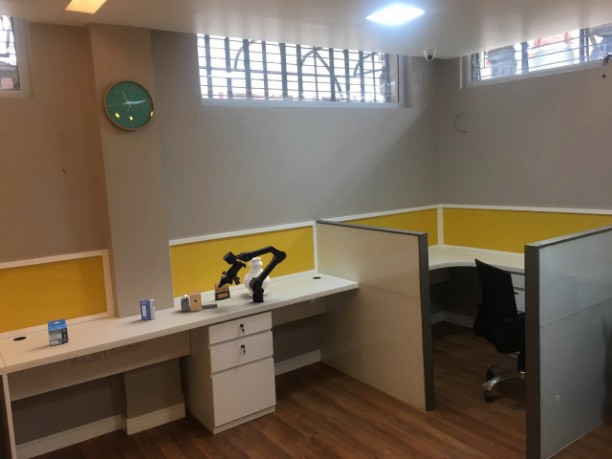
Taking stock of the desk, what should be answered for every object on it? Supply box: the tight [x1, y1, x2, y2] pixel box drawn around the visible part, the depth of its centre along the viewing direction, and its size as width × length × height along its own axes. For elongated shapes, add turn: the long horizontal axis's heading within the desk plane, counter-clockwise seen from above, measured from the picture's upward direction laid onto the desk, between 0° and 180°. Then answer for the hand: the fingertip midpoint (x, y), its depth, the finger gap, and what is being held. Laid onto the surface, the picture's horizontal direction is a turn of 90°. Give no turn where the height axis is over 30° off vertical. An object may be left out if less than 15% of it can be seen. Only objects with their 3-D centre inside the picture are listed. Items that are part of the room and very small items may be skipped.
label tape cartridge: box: [47, 318, 69, 347], centre depth 282 cm, size 9×4×12 cm, turn 121°
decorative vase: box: [243, 256, 271, 297], centre depth 364 cm, size 18×18×25 cm
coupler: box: [180, 294, 218, 313], centre depth 335 cm, size 22×7×10 cm, turn 103°
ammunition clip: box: [214, 281, 231, 302], centre depth 357 cm, size 11×2×12 cm, turn 125°
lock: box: [188, 291, 203, 312], centre depth 334 cm, size 7×8×10 cm
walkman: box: [139, 298, 157, 321], centre depth 319 cm, size 8×3×12 cm, turn 91°
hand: (218, 287), depth 337 cm, fingers closed
